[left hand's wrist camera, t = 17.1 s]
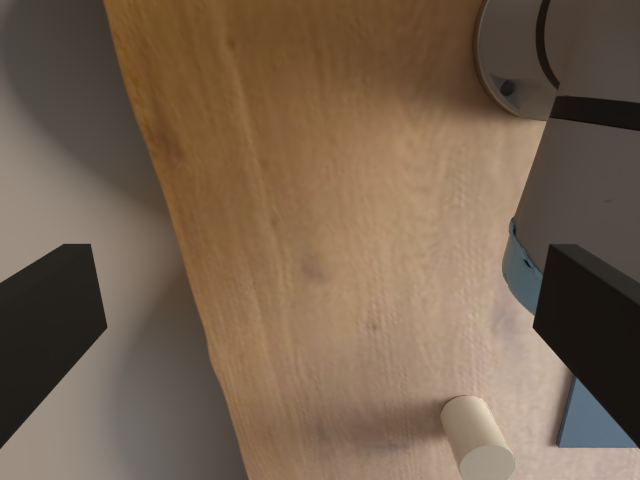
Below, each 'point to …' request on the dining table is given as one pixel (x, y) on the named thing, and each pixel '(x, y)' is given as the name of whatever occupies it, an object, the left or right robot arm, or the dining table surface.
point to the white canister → (476, 440)
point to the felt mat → (589, 423)
